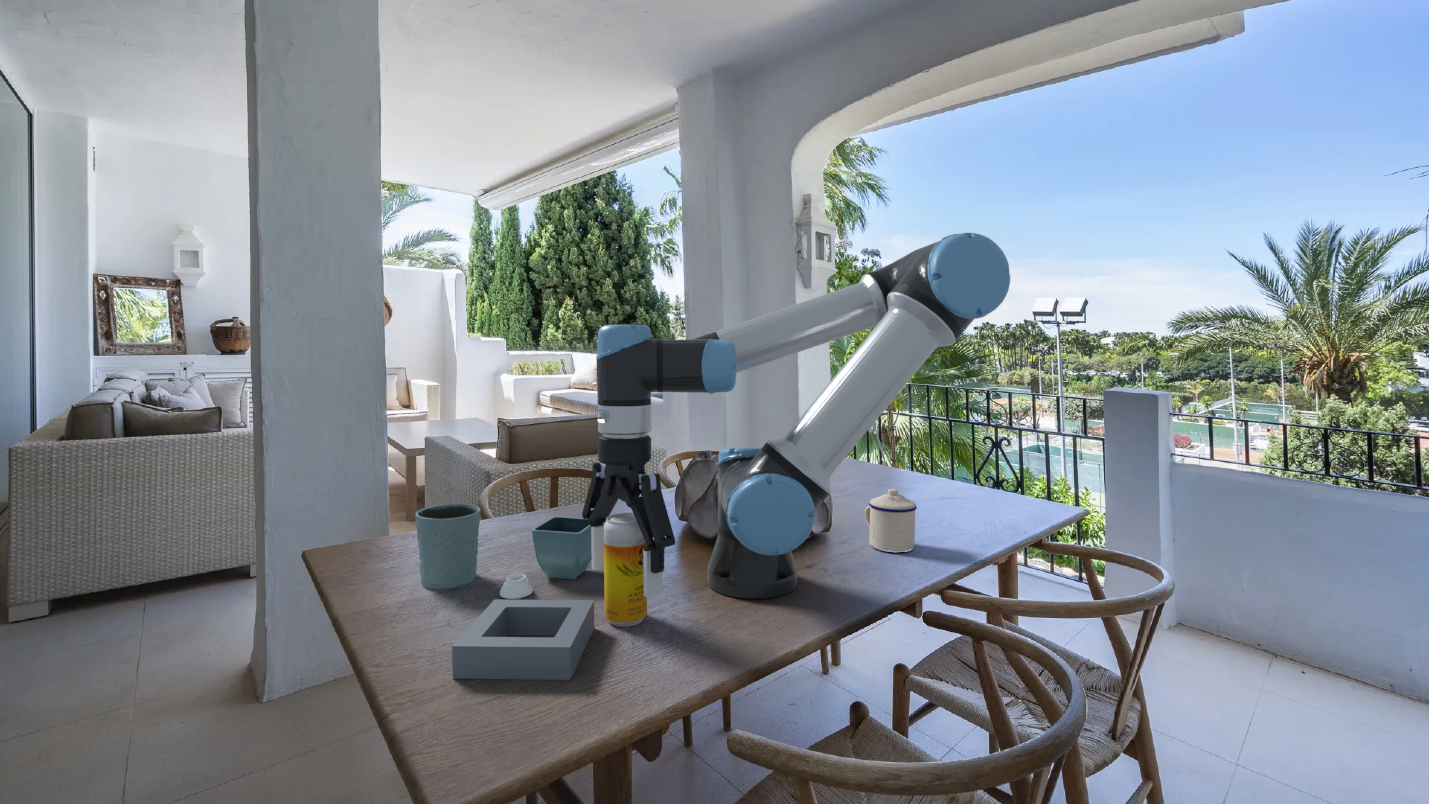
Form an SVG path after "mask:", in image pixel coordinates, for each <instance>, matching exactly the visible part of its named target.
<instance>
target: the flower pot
mask: <svg viewBox="0 0 1429 804" xmlns="http://www.w3.org/2000/svg"><path fill="white" fill-rule="evenodd" d="M531 534H532V535H531V536H532V541H533V547H534V553H535V557H536V560H537V563H538V565H539V567H540V570H541V571H542V572H543V573H544V574H545V575H546V576H547V578H552V579H563V580H564V579H565V580H576V579H577V578H578V577H579V576H580V575H582V574H583V573H584V572H585V571H586V570H587V569H588V567H589V564H590V563H591V562H592V547H591V526H590V525H589V523H588V519H583V517H581V518H580V517H570V516H569V517H568V516H552V517H550V518H549V519H547V520H545V521H543V522H542V523H541V524H539V525H537V526H536V527H534V528H532V529H531Z"/></svg>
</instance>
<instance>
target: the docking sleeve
mask: <svg viewBox="0 0 1429 804" xmlns="http://www.w3.org/2000/svg"><path fill="white" fill-rule="evenodd" d="M594 630H595V600H592V599H588V600H587V599H586V600H585V599H584V600H583V599H496V598H495V599H493V600H492V602H490V604H489V605H488V606H487V607H486V608H485V609H484V610H483V611H482V612H481V613H480V614H479V615H478V616H477V618H476V619H475V620H474V621H473V623H471V625H469V627H468V628H467V629H466V630H464V632H463V634H461V635H460V637H458V639H457V640H456V641H455V642H454V643H453V644H452V645H451V657H452V659H451V660H452V661H451V662H452V663H451V664H452V679H453V680H460V679H461V680H533V681H534V680H535V681H536V680H537V681H538V680H545V681H546V680H547V681H549V680H550V681H551V680H553V681H554V680H555V681H559V680H560V681H562V680H563V681H571V680H572V678H573V676H574V673H575V672H576V669H577V667H578V665H579V662H580V660H581V658H582V656H583V654H584V651H585V649H586V647H587V645H588V643H589V640H590V639H591V636H592V634H593V631H594ZM522 636H523V637H522ZM525 636H527V637H525ZM528 636H529V637H528ZM533 636H534V637H533ZM536 636H537V637H536ZM538 636H539V637H538ZM540 636H544V637H540ZM551 636H552V637H551ZM553 636H554V637H553Z"/></svg>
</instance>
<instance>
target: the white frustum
mask: <svg viewBox="0 0 1429 804" xmlns="http://www.w3.org/2000/svg"><path fill="white" fill-rule="evenodd" d="M533 590H534V589H533V585H532V584H531V583H530V581H529V580H528V578H527V576H526V575H525V574H523V573H515V574H514V573H513V574H509V575H507V576H506V578H505V581H504V582H503V584H502V586H501V588H500V590H499V596H500V597H501V598H502V599H503V598H504V599H505V600H521V599H524V598H526V597H528V596H530V595H531V594H533Z"/></svg>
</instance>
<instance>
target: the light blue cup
mask: <svg viewBox="0 0 1429 804" xmlns="http://www.w3.org/2000/svg"><path fill="white" fill-rule="evenodd" d="M481 512H482V511H481V508H480V507H479V506H477V505H474V504H468V503H448V504H447V503H446V504H445V503H444V504H438V505H436V504H435V505H432V506H428V507H423V508H421V509H418V510H417V511H416V512H415V514H414V515H415V516H414V517H415V523H416V524H415V525H416V533H417V534H416V535H417V543H418V552H419V553H418V555H419V560H420V565H419V571H420V582H421V585H422V586H423V587H424V588H426V589H430V590H449V589H454V588H459V587H463V586H466V585H469V584H470V583H472V582H473V581H475V580H476V577H477V569H478V568H477V566H478V554H479V553H478V552H479V551H478V550H479V549H478V547H479V539H478V538H479V528H480V522H481Z"/></svg>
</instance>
